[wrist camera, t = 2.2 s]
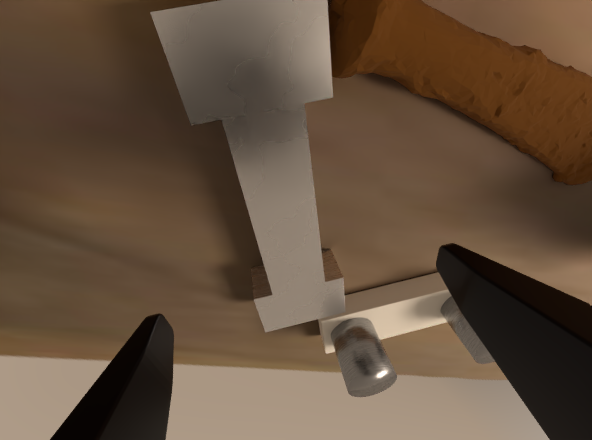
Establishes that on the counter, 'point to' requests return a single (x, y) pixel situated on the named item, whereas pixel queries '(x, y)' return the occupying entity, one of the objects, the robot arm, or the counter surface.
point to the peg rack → (390, 329)
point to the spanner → (264, 133)
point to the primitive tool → (471, 77)
